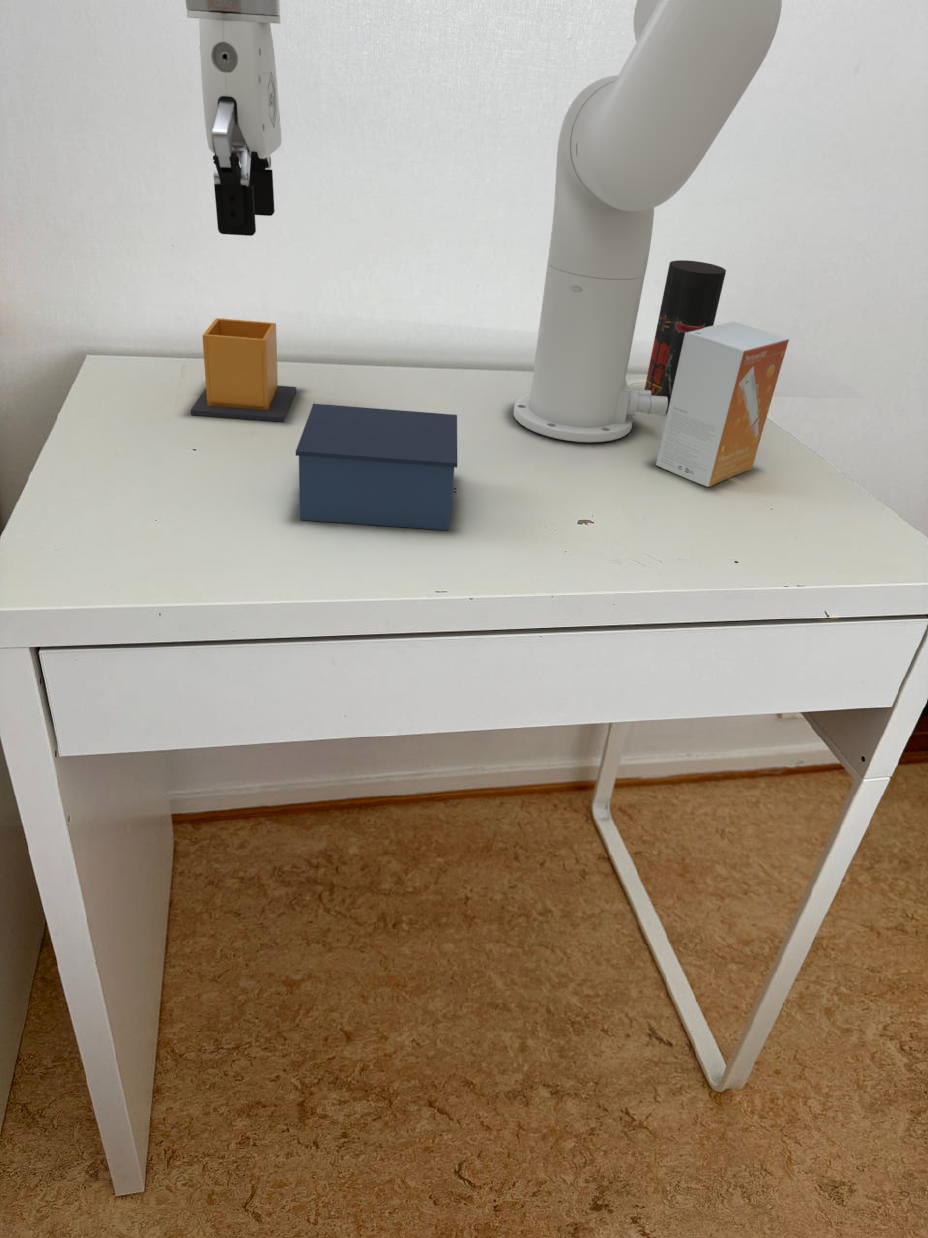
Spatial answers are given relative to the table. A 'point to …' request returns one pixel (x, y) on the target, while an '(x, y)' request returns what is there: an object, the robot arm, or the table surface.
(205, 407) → the rubber mat
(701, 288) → the deodorant
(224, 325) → the amber container
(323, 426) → the storage tub
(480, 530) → the table surface
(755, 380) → the small box
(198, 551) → the table surface
